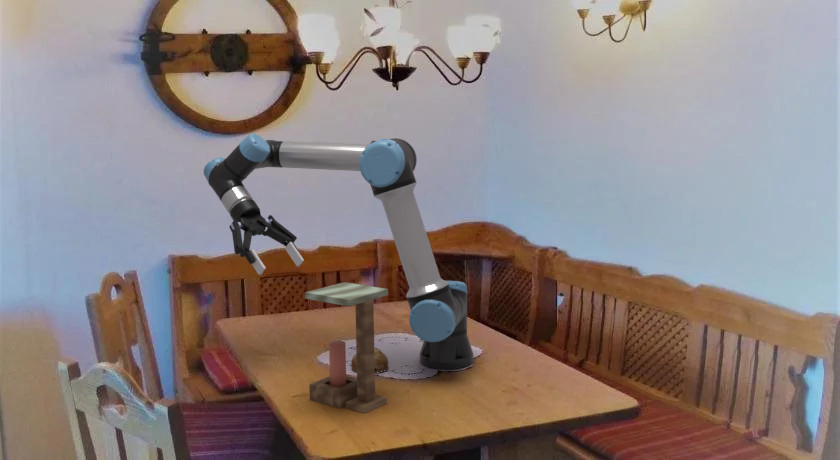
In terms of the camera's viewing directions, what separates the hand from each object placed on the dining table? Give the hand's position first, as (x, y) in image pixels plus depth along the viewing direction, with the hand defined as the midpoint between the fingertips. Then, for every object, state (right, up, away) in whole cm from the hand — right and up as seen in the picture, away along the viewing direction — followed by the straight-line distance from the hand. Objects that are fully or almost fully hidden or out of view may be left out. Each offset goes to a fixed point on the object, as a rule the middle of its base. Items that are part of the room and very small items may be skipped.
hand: (282, 267), depth 210 cm
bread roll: (+22, -29, +11) cm, 38 cm away
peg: (+16, -32, -12) cm, 37 cm away
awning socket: (+19, -32, -14) cm, 40 cm away
